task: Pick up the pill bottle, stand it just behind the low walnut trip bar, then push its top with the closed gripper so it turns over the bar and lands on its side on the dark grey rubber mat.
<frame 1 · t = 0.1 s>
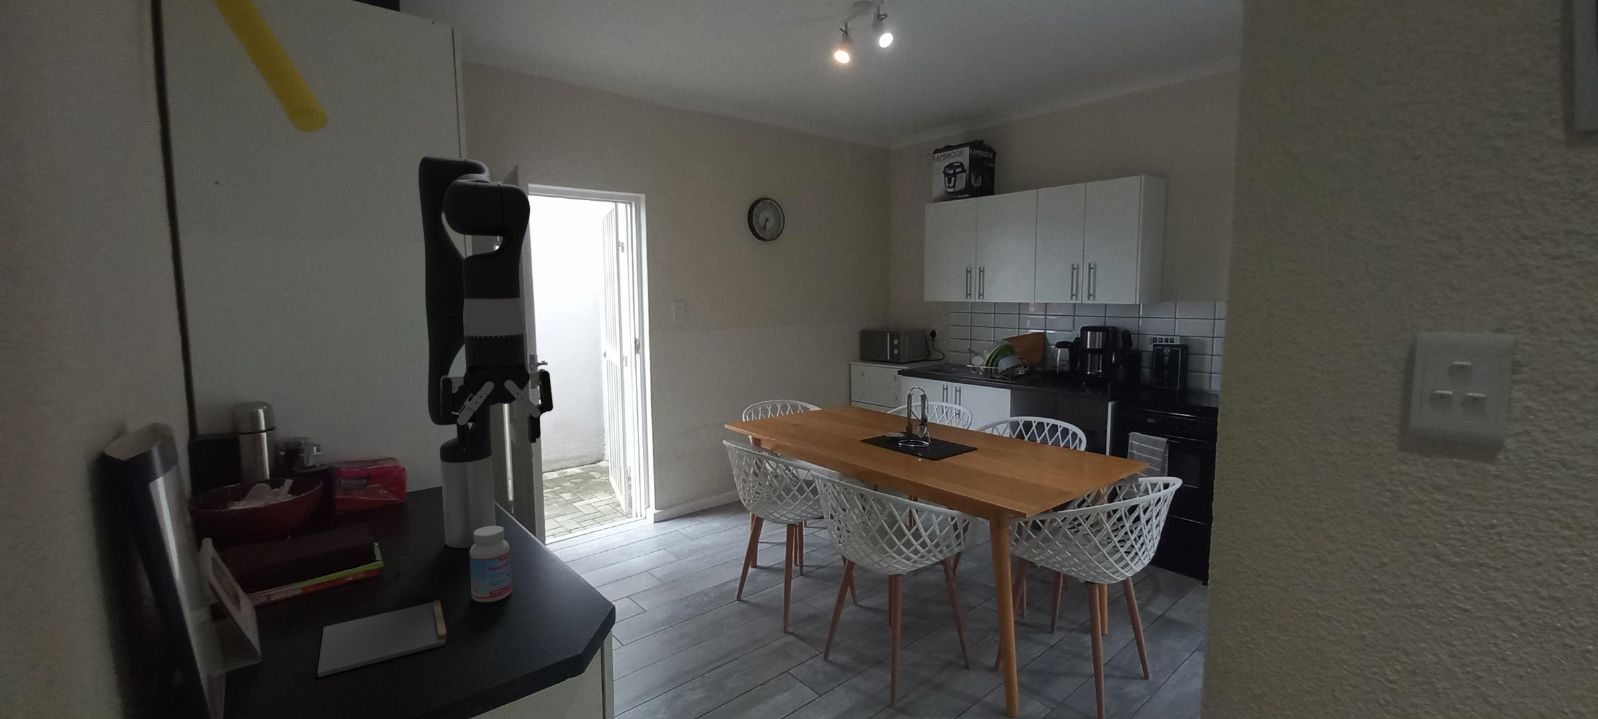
hand: (500, 446, 94), 29 cm above the worktop, fingers open, 8 cm apart
pill bottle: (492, 596, 112), on the worktop
trip bar: (439, 624, 102), resting in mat
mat: (383, 637, 98), on the worktop
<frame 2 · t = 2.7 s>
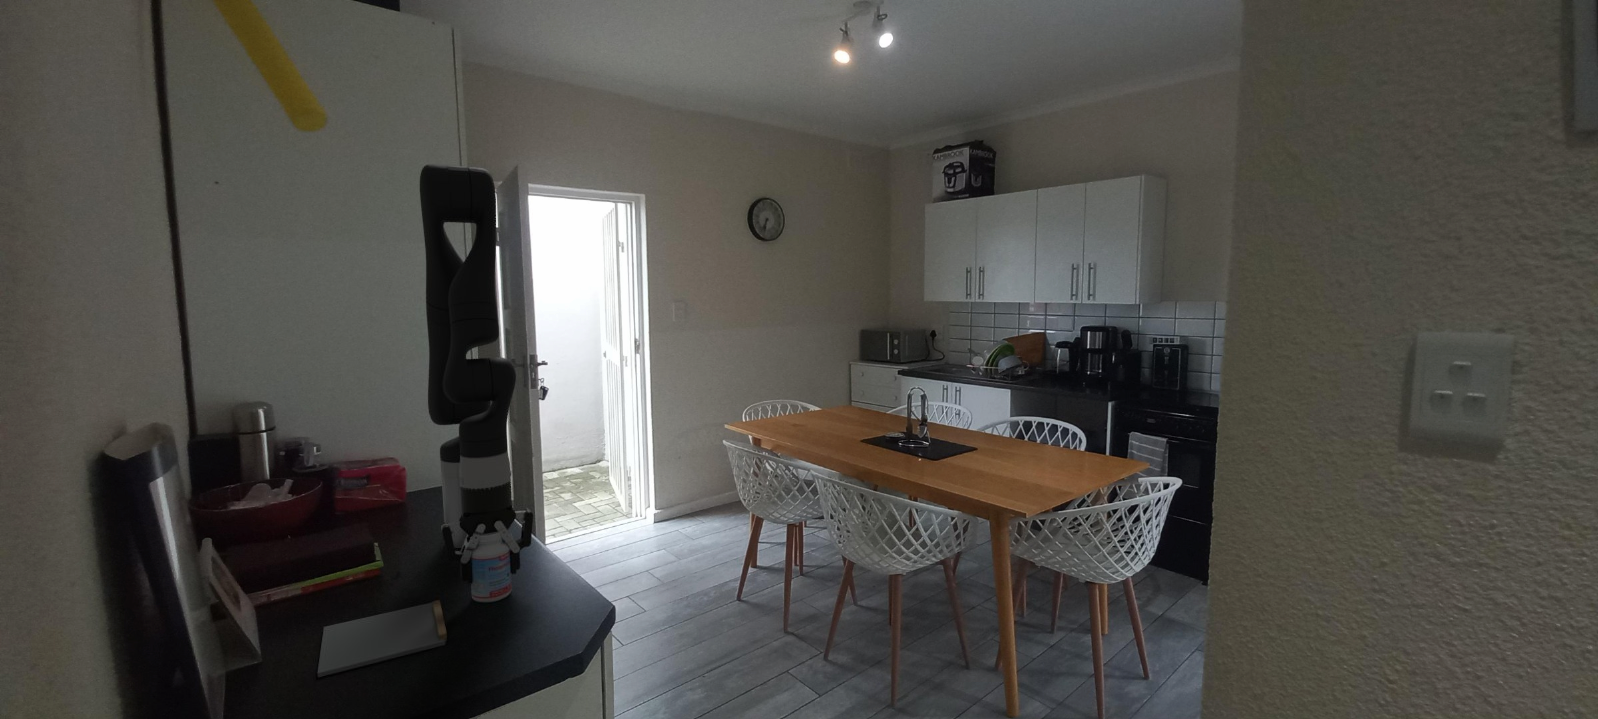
hand: (491, 577, 111), 3 cm above the worktop, fingers closed on pill bottle, 6 cm apart
pill bottle: (492, 596, 112), on the worktop, touching gripper
when the fingers open (4 cm above the worktop, at t = 8.0 s): pill bottle stays where it is, on the worktop.
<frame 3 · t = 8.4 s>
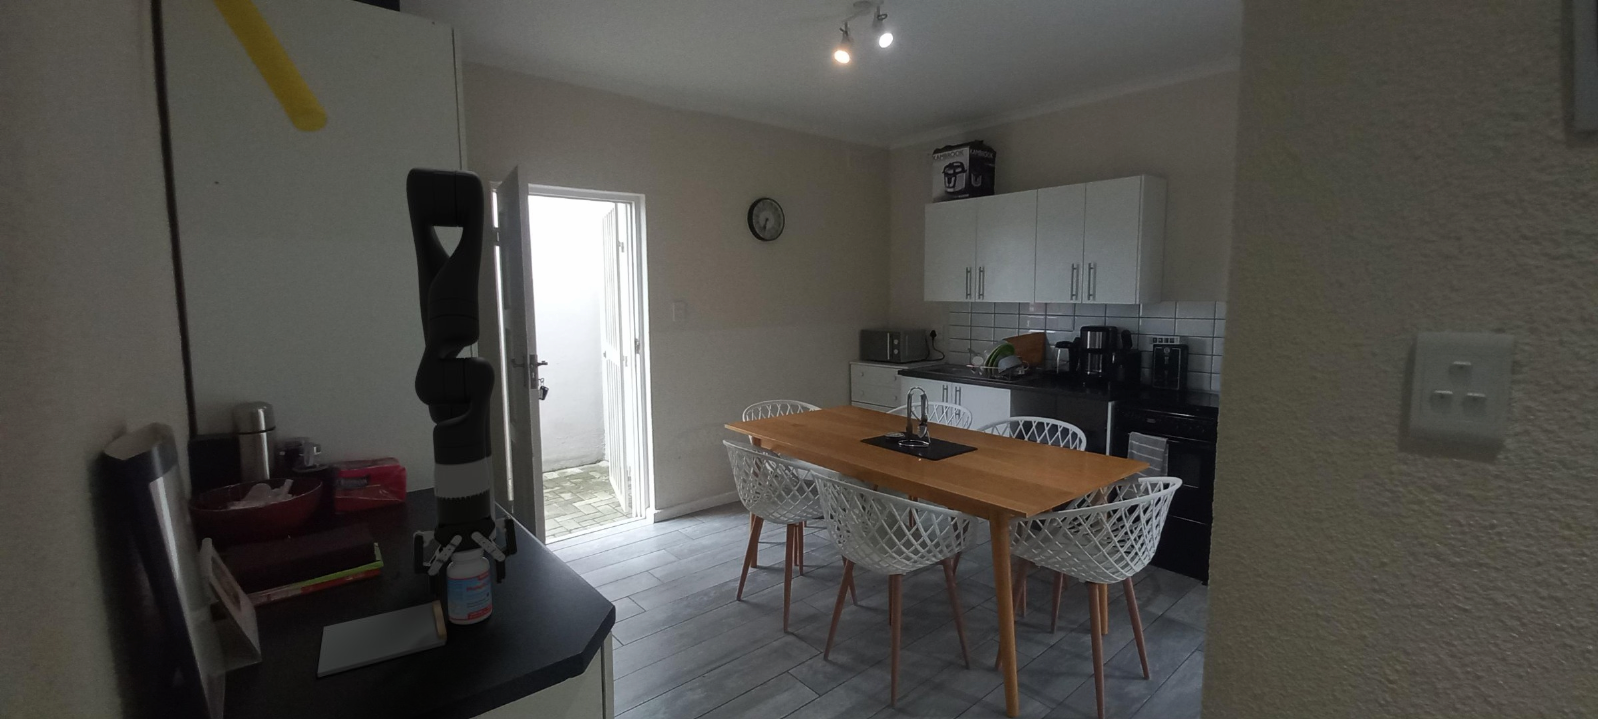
hand: (468, 588, 104), 5 cm above the worktop, fingers open, 8 cm apart
pill bottle: (471, 617, 105), on the worktop
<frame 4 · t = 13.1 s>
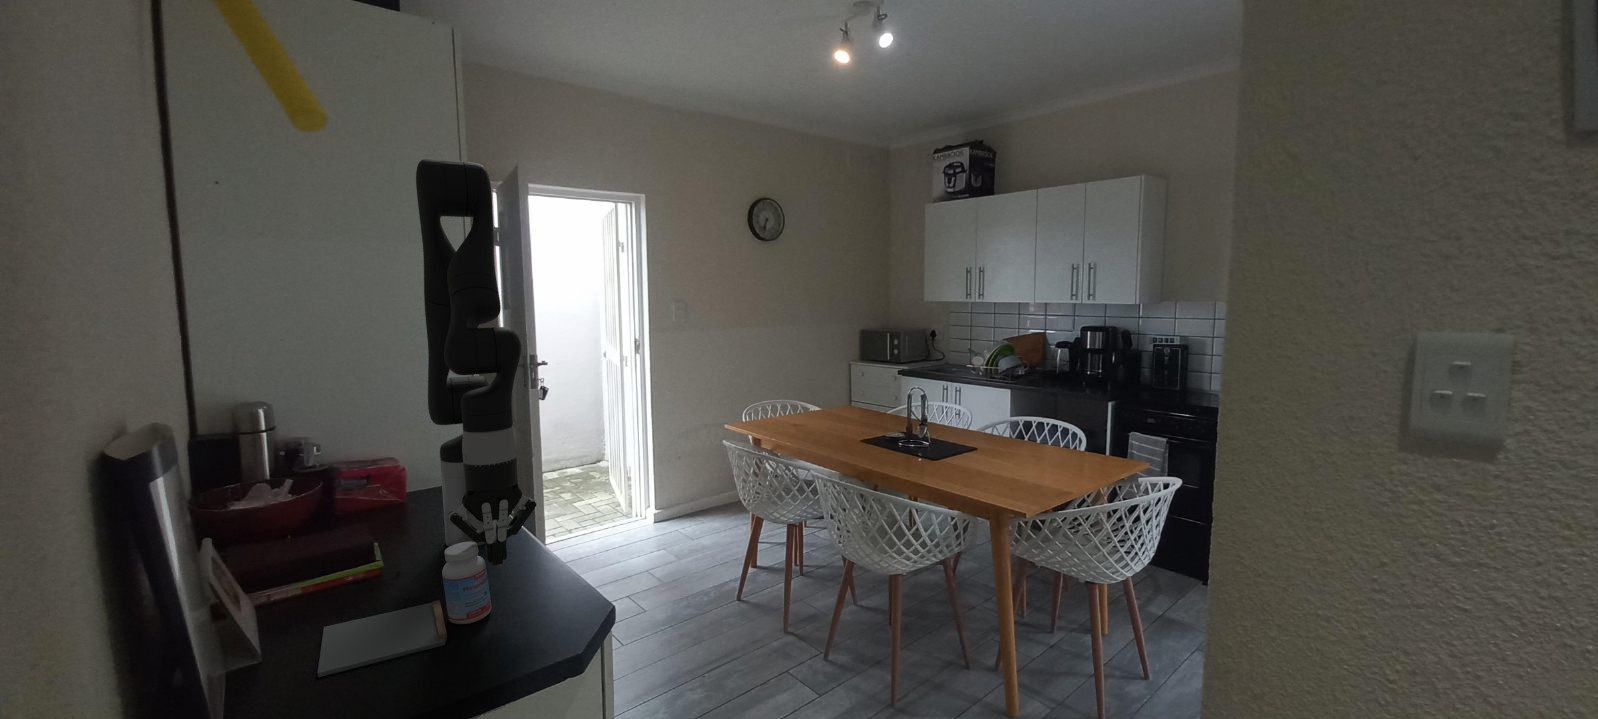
hand: (496, 563, 106), 8 cm above the worktop, fingers closed
pill bottle: (471, 616, 105), on the worktop, touching gripper
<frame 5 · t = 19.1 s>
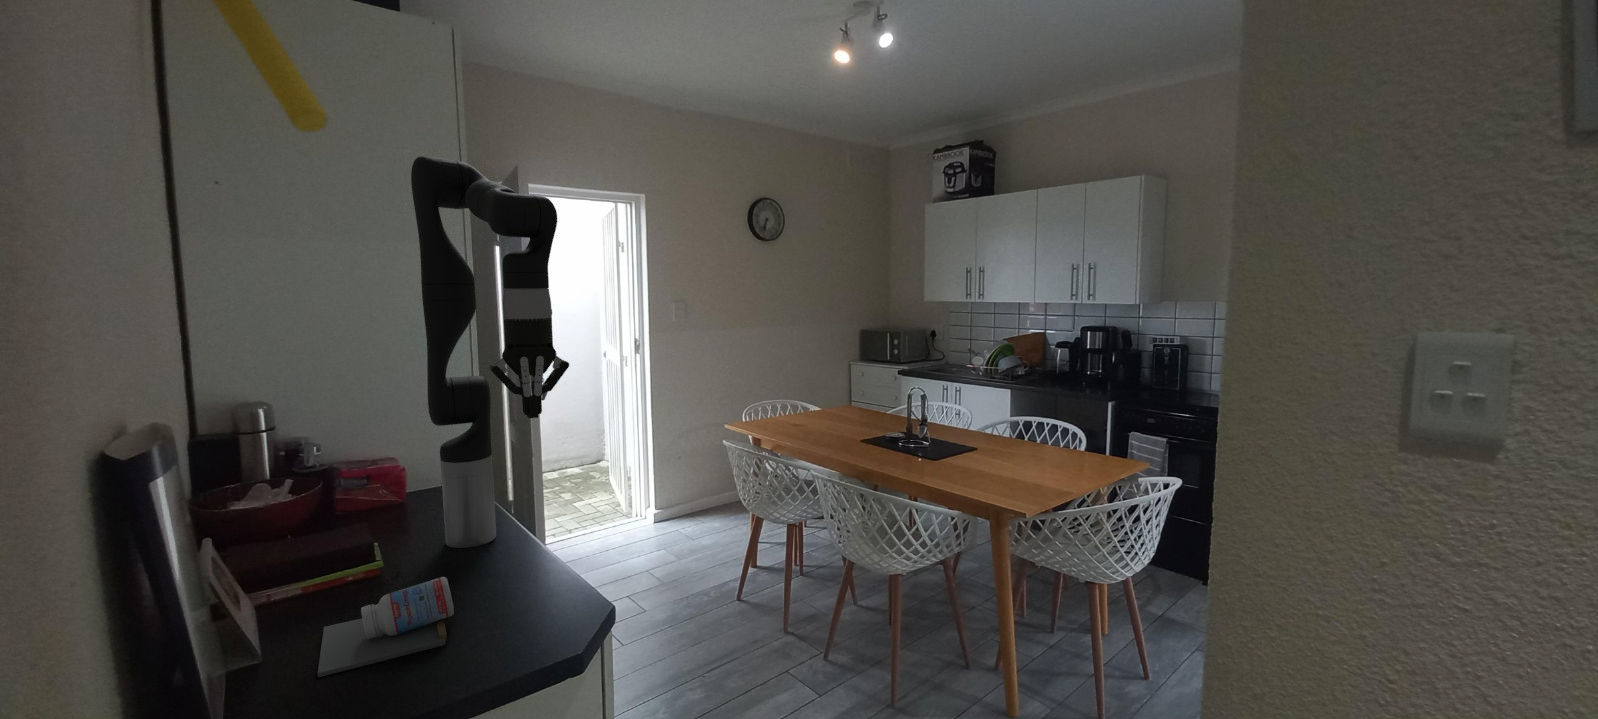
hand: (532, 417, 114), 29 cm above the worktop, fingers closed
pill bottle: (451, 594, 102), point 5 cm above the worktop, touching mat, trip bar
at the end: pill bottle tilted 97°; pill bottle inside the target area (9.2 cm from its centre), point 4.5 cm above the worktop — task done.
